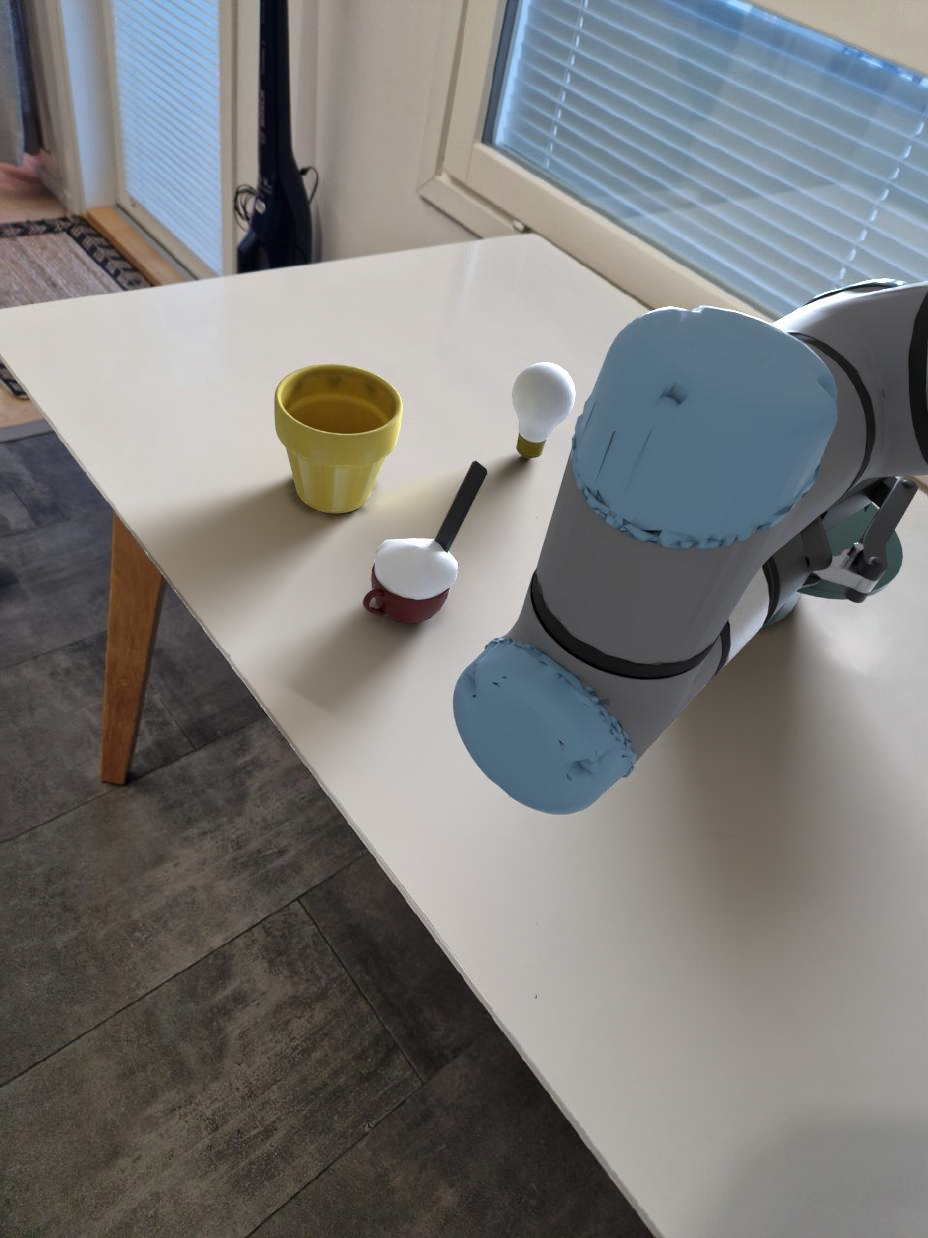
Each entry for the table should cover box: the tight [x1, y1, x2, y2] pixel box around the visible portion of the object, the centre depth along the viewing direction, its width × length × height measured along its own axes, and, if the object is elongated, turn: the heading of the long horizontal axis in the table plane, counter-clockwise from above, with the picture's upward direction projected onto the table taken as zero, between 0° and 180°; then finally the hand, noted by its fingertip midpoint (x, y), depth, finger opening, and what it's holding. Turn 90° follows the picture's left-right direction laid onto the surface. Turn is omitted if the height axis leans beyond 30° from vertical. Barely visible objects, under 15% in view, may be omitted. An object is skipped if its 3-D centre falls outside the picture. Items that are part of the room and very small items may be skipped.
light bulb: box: [511, 361, 576, 460], centre depth 82 cm, size 6×6×10 cm
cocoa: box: [362, 460, 488, 624], centre depth 65 cm, size 10×6×12 cm, turn 109°
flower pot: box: [273, 363, 404, 514], centre depth 74 cm, size 10×10×10 cm
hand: (876, 419), depth 57 cm, fingers closed on lid, 3 cm apart
